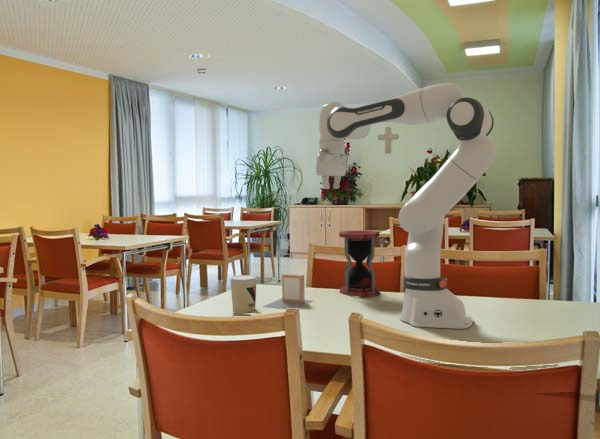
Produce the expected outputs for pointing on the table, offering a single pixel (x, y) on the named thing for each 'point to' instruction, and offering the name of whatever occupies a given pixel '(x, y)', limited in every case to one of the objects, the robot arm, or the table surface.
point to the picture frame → (293, 288)
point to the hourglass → (359, 263)
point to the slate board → (286, 304)
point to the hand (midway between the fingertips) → (331, 188)
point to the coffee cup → (243, 293)
